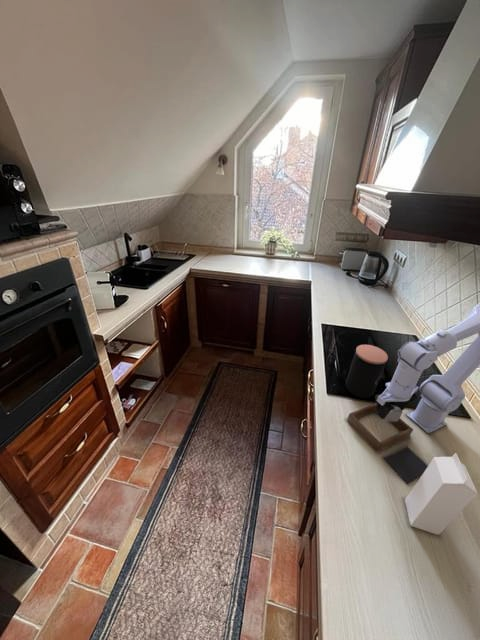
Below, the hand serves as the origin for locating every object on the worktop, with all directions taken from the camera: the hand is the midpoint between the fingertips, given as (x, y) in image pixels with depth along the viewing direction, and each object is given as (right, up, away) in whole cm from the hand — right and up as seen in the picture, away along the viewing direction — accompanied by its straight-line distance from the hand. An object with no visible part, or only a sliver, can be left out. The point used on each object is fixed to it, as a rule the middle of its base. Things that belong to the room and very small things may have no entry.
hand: (389, 412), depth 79 cm
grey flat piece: (0, -3, +2) cm, 3 cm away
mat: (+2, -13, -5) cm, 14 cm away
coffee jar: (+1, +1, +21) cm, 21 cm away
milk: (-2, -20, -16) cm, 26 cm away
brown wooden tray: (-1, -7, +6) cm, 9 cm away
